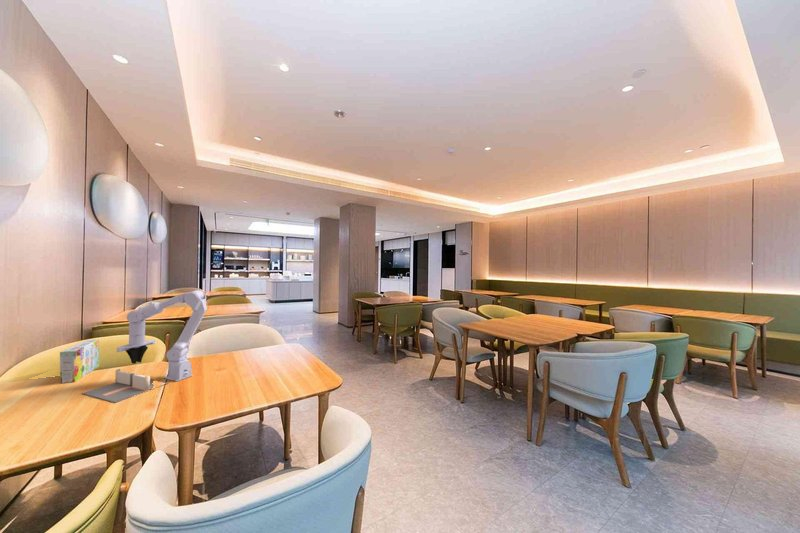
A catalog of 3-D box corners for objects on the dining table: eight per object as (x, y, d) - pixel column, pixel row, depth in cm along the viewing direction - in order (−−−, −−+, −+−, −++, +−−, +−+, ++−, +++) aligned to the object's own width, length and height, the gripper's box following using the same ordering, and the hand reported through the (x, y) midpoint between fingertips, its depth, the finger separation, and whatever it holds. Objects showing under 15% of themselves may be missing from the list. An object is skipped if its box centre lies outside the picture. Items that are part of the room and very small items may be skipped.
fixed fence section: (150, 389, 128) (150, 375, 128) (146, 390, 127) (146, 377, 127) (136, 385, 131) (136, 372, 131) (131, 387, 130) (132, 374, 129)
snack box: (85, 368, 150) (85, 339, 150) (99, 366, 153) (100, 338, 153) (58, 384, 131) (59, 351, 131) (75, 382, 133) (76, 350, 133)
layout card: (167, 383, 135) (168, 382, 135) (115, 402, 116) (115, 401, 116) (136, 376, 142) (136, 375, 142) (81, 393, 122) (81, 392, 122)
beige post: (135, 384, 131) (135, 372, 131) (131, 385, 130) (131, 373, 130) (118, 380, 135) (119, 369, 135) (114, 381, 133) (114, 370, 133)
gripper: (148, 330, 146) (147, 357, 146) (112, 337, 132) (112, 366, 132) (158, 332, 144) (157, 358, 144) (122, 339, 130) (122, 368, 130)
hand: (136, 362), depth 138 cm, fingers closed
